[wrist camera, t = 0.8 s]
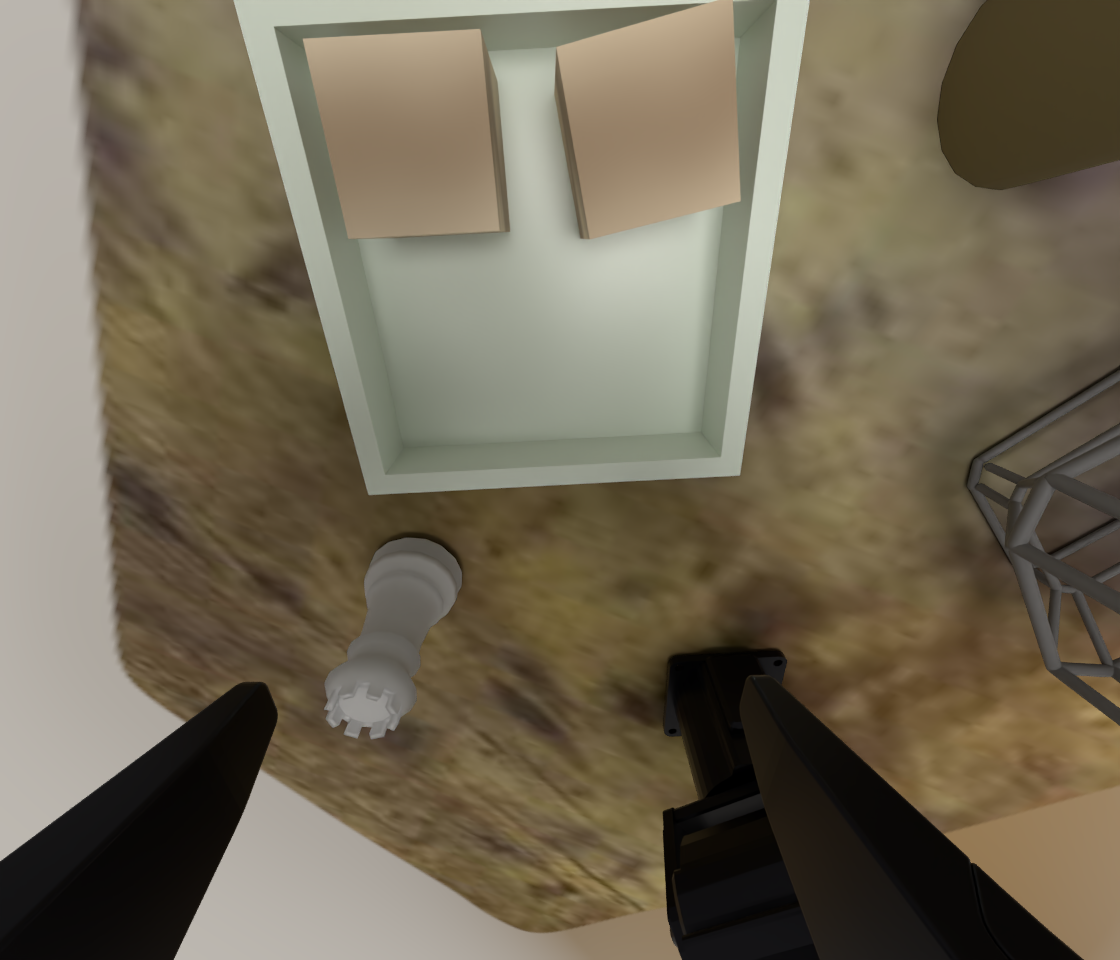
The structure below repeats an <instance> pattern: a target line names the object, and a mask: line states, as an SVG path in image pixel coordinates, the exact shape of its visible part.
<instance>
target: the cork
mask: <svg viewBox="0 0 1120 960" xmlns="http://www.w3.org/2000/svg"><path fill="white" fill-rule="evenodd" d="M937 120H938V127H939V133H940V140H941V147H942V151H943V153H944V155H945V156H946V158H947V160H948V161H949V163H950V165H951V167H952V168H953V170H954V172H955V173H956V174H957V175H959V176H960V177H962V178H963V179H965V180H966V181H968V182H969V183H971V184H972V185H974V186H975V187H982V188H990V189H997V190H1003V189H1008V188H1012V187H1017V186H1021V185H1025V184H1030V183H1034V182H1037V181H1041V180H1045V179H1049V178H1053V177H1056V176H1060V175H1064V174H1068V173H1072V172H1076V171H1079V170H1083V169H1087V168H1091V167H1095V166H1099V165H1102V164H1106V163H1110V162H1114V161H1118V160H1120V0H987V1H986V2H985V3H984V4H983V5H982V6H981V7H980V9H979V11H978V12H977V14H976V15H975V17H974V19H973V20H972V22H971V23H970V25H969V26H968V28H967V30H966V31H965V33H964V34H963V36H962V37H961V39H960V41H959V42H958V44H957V46H956V49H955V51H954V54H953V57H952V59H951V62H950V64H949V67H948V70H947V72H946V75H945V78H944V80H943V83H942V89H941V97H940V104H939V112H938V119H937Z"/></svg>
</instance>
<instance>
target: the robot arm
mask: <svg viewBox="0 0 1120 960" xmlns="http://www.w3.org/2000/svg"><path fill="white" fill-rule="evenodd" d="M786 664H787V660H786V658H785V656H784V654H783V653H782V652H780V651H766V652H746V653H727V654H708V655H689V656H675V657H673V658H671V659H670V660H669V662H668V671H667V683H666V695H665V706H664V718H663V728H664V733H665V734H666V735H667V736H682V739H683V742H684V746H685V750H686V754H687V757H688V761H689V765H690V769H691V772H692V776H693V780H694V784H695V787H696V791H697V795H698V799H699V800H698V801H695V802H693V803H690V804H687V805H684V806H682V807H679V808H676V809H674V808H670V809H667V810H665V811H663V825H664V830H663V843H664V862H665V881H666V900H667V916H668V922H669V925H670V933H671V938H672V941H673V943H674V944H675V946H676V947H678V950H679V953H680V956H681V958H682V960H1084V959H1082V958H1081V957H1080V956H1079V955H1077V954H1076V953H1075V952H1074V951H1073V950H1072V949H1071V948H1069V947H1068V946H1067V945H1066V944H1065V943H1063V942H1062V941H1061V940H1060V939H1058V937H1056V936H1055V935H1054V934H1053V933H1052V932H1050V931H1049V930H1048V929H1047V928H1046V927H1045V926H1044V925H1043V924H1041V923H1040V922H1039V921H1038V920H1037V919H1036V918H1035V917H1034V916H1032V915H1031V914H1030V913H1029V912H1028V911H1027V910H1026V909H1025V908H1023V906H1021V905H1020V904H1019V903H1018V902H1017V901H1016V900H1015V899H1014V898H1012V897H1011V896H1010V895H1009V894H1008V893H1007V892H1006V891H1005V890H1004V889H1002V888H1001V887H1000V886H999V885H998V884H997V883H996V882H995V881H994V880H993V879H992V878H990V877H989V876H988V875H987V874H986V873H985V872H984V871H983V870H982V869H981V868H980V867H978V866H977V865H976V864H975V863H971V862H970V859H969V858H968V857H967V856H966V855H965V854H964V853H963V852H962V851H961V850H960V849H959V848H958V847H957V846H956V845H954V844H953V843H952V842H951V841H950V840H949V839H948V838H947V837H946V836H945V835H944V834H942V833H941V832H940V831H939V830H938V829H937V828H936V827H935V826H934V825H933V824H932V823H931V822H929V821H928V820H927V819H926V818H925V817H924V816H923V815H922V814H921V813H920V812H919V811H918V810H916V809H915V808H914V807H913V806H912V805H911V804H910V803H909V802H908V801H907V800H906V799H905V798H903V797H902V796H901V795H900V794H899V793H898V792H897V791H896V790H895V789H894V788H893V787H891V786H890V785H889V784H888V783H887V782H886V781H885V780H884V779H883V778H882V777H881V776H880V775H878V774H877V773H876V772H875V771H874V770H873V769H872V768H871V767H870V766H869V765H868V764H867V763H865V762H864V761H863V760H862V759H861V758H860V757H859V756H858V755H857V754H856V753H855V752H854V751H852V750H851V749H850V748H849V747H848V746H847V745H846V744H845V743H844V742H843V741H842V740H840V739H839V738H838V737H837V736H836V735H835V734H834V733H833V732H832V731H831V730H830V729H829V728H827V727H826V726H825V725H824V724H823V723H822V722H821V721H820V720H819V719H818V718H817V717H816V716H814V715H813V714H812V713H811V712H810V711H809V710H808V709H807V708H806V707H805V706H804V705H803V704H801V703H800V702H799V701H798V700H797V699H796V698H795V697H794V696H793V695H792V694H791V693H789V692H788V691H787V690H786V689H785V688H784V687H783V686H782V685H781V684H782V680H783V676H784V672H785V668H786ZM277 718H278V713H277V708H276V706H275V703H274V701H273V698H272V696H271V693H270V691H269V689H268V686H267V685H266V684H265V683H264V682H242V683H240V684H238V685H236V686H234V687H233V688H232V689H230V690H229V691H228V692H226V693H225V694H224V695H222V696H221V697H220V698H218V699H217V700H216V701H214V702H213V703H212V704H210V705H209V706H208V707H206V708H205V709H204V710H202V711H201V712H200V713H198V714H197V715H196V716H194V717H193V718H192V719H190V720H189V721H188V722H186V723H185V724H184V725H182V726H181V727H180V728H178V729H177V730H175V731H174V732H173V733H171V734H170V735H169V736H167V737H166V738H165V739H163V740H162V741H161V742H159V743H158V744H157V745H155V746H154V747H153V748H151V749H150V750H149V751H147V752H146V753H145V754H143V755H142V756H141V757H139V758H138V759H137V760H135V761H134V762H133V763H131V764H130V765H129V766H127V767H126V768H125V769H123V770H122V771H121V772H119V773H118V774H117V775H116V776H114V777H113V778H111V779H110V780H109V781H107V782H106V783H105V784H103V785H102V786H101V787H99V788H98V789H97V790H95V791H94V792H93V793H91V794H90V795H89V796H87V797H86V798H84V799H83V800H82V801H81V802H79V803H78V804H77V805H75V806H74V807H72V808H71V809H70V810H69V811H67V812H66V813H64V814H63V815H62V816H60V817H59V818H58V819H56V820H55V821H54V822H52V823H51V824H50V825H48V826H47V827H46V828H44V829H43V830H42V831H40V832H39V833H38V834H36V835H35V836H34V837H32V838H31V839H30V840H28V841H27V842H26V843H24V844H23V845H22V846H20V847H19V848H18V849H16V850H15V851H14V852H12V853H11V854H9V855H8V856H7V857H5V858H4V859H3V860H2V861H0V960H174V958H175V956H176V954H177V952H178V949H179V947H180V945H181V943H182V941H183V939H184V937H185V935H186V933H187V930H188V928H189V926H190V924H191V922H192V920H193V918H194V916H195V914H196V912H197V909H198V907H199V905H200V903H201V901H202V899H203V897H204V895H205V893H206V891H207V888H208V886H209V884H210V882H211V880H212V878H213V876H214V873H215V872H216V870H217V867H218V865H219V863H220V861H221V859H222V857H223V855H224V853H225V850H226V849H227V846H228V844H229V842H230V840H231V838H232V836H233V834H234V832H235V829H236V827H237V825H238V823H239V821H240V818H241V816H242V813H243V812H244V809H245V807H246V804H247V801H248V799H249V797H250V794H251V791H252V788H253V785H254V783H255V780H256V778H257V775H258V772H259V770H260V767H261V764H262V762H263V759H264V756H265V753H266V751H267V748H268V745H269V743H270V740H271V737H272V734H273V732H274V729H275V726H276V723H277Z"/></svg>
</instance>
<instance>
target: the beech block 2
mask: <svg viewBox="0 0 1120 960" xmlns="http://www.w3.org/2000/svg"><path fill="white" fill-rule="evenodd" d="M554 96H555V101H556V107H557V112H558V118H559V123H560V129H561V134H562V140H563V145H564V151H565V156H566V162H567V167H568V172H569V178H570V183H571V189H572V194H573V200H574V205H575V211H576V216H577V222H578V227H579V233H580V238H581V239H593V238H597V237H601V236H605V235H609V234H613V233H617V232H621V231H625V230H629V229H633V228H637V227H641V226H645V225H649V224H653V223H657V222H661V221H665V220H669V219H673V218H676V217H680V216H684V215H688V214H692V213H696V212H700V211H704V210H708V209H712V208H716V207H720V206H724V205H728V204H732V203H736V202H740V201H741V196H740V170H739V145H738V119H737V93H736V68H735V42H734V17H733V0H717V1H713V2H710V3H706V4H703V5H700V6H696V7H693V8H689V9H686V10H682V11H679V12H675V13H672V14H668V15H665V16H662V17H658V18H655V19H651V20H648V21H644V22H641V23H637V24H634V25H630V26H627V27H623V28H620V29H617V30H613V31H610V32H606V33H603V34H599V35H596V36H592V37H589V38H585V39H582V40H579V41H575V42H572V43H568V44H565V45H561V46H558V47H556V64H555V87H554Z"/></svg>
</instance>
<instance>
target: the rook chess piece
mask: <svg viewBox="0 0 1120 960" xmlns="http://www.w3.org/2000/svg"><path fill="white" fill-rule="evenodd" d="M461 586H462V571H461V569H460V567H459V565H458V563H457V561H456V559H455V558H454V557H453V556H452V555H451V554H450V553H449V552H448V551H447V550H445V549H444V548H443V547H442V546H441V545H439V544H437V543H434V542H432V541H430V540H427V539H420V538H403V539H399V540H395V541H391V542H388V543H387V544H385V545H384V546H383V547H381V548H380V549H379V550H377V551H376V552H375V554H374V557H373V559H372V561H371V563H370V567H369V569H368V571H367V573H366V575H365V580H364V587H365V597H366V601H367V608H368V612H367V616H366V619H365V623H364V626H363V630H362V633H361V635H360V637H358V638H357V639H355V640H354V641H352V642H351V644H350V646H349V648H348V650H347V655H348V661H347V662H345V663H343V664H341V665H339V666H338V667H336V668H335V669H334V670H332V671H331V672H330V673H329V675H328V677H327V679H326V681H325V689H326V695H327V698H328V702H327V704H326V706H325V708H324V710H329V712H328V715H327V717H326V720H327V721H328V723H329V724H330V725H331V726H332V728H333V727H335V726H338V725H339V724H340V722H341V720H342V719H344V720H345V721H347V722H349V723H348V725H347V728H346V730H345V732H344V735H347V736H350V737H354V738H358V735H359V733H360V730H361V728H362V727H372V728H371V731H370V734H369V735H370V737H371V739H375V738H380V737H384V736H385V733H386V730H387V728H388V729H391V730H393V731H394V730H395V728H396V727H397V725H398V723H399V721H400V717H401V716H403V715H404V714H406V713H408V712H409V711H410V710H411V709H412V707H413V706H414V704H415V702H416V701H417V696H416V687H415V685H414V683H413V682H412V680H411V677H412V676H414V675H415V674H416V672H417V671H418V669H419V667H420V655H419V651H420V648H421V645H422V643H423V641H424V639H425V637H426V635H427V633H428V631H429V629H430V627H432V626H433V625H435V624H436V623H438V621H439V619H441V618H442V617H444V616H445V615H447V613H448V612H449V611H450V609H451V607H452V606H453V604H454V602H455V601H456V599H457V593H458V591H459V590H460V588H461Z"/></svg>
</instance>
